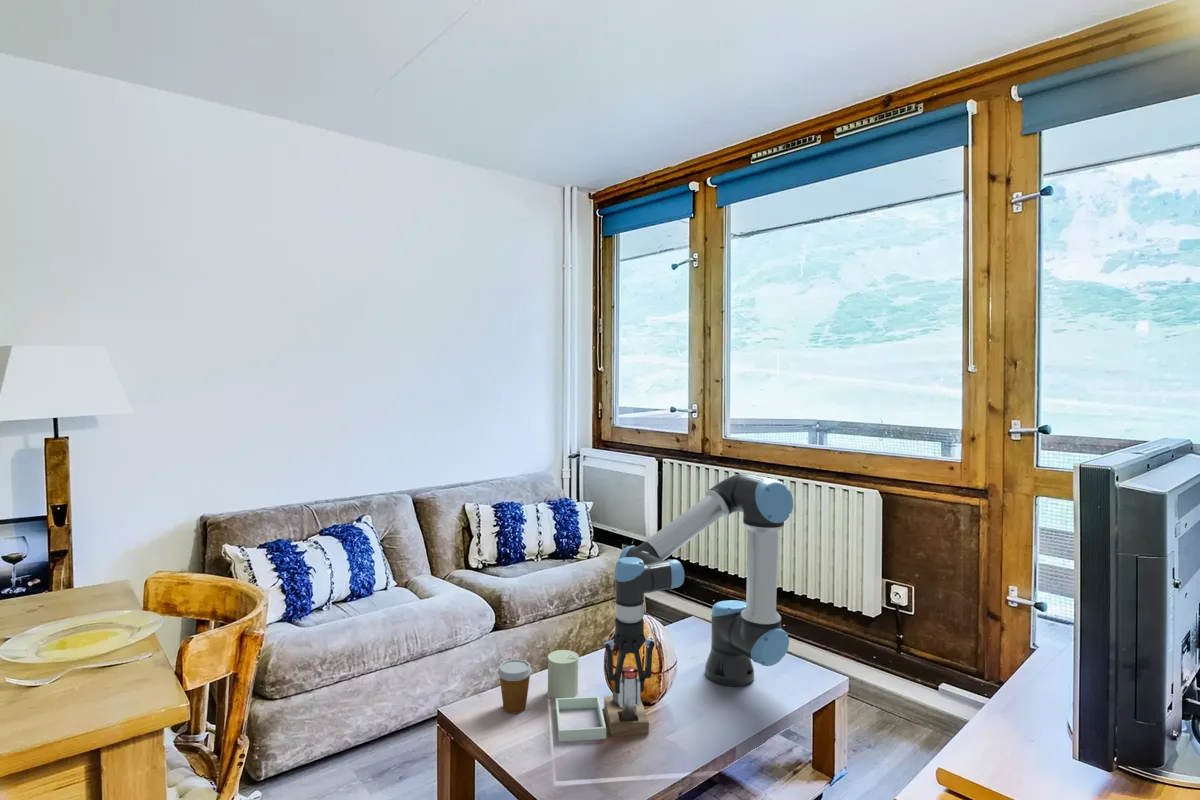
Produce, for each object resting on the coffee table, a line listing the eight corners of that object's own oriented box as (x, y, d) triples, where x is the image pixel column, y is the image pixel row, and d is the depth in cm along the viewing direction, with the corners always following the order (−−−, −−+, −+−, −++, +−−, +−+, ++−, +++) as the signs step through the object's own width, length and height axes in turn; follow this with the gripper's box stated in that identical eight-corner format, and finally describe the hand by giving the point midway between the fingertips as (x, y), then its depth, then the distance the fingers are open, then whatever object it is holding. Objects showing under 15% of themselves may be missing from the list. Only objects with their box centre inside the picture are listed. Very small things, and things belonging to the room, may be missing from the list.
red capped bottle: (635, 713, 174) (635, 666, 173) (637, 721, 170) (638, 673, 169) (620, 714, 173) (620, 666, 173) (622, 722, 169) (623, 674, 169)
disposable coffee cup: (529, 716, 178) (530, 674, 177) (495, 716, 178) (495, 674, 177) (533, 699, 187) (533, 658, 187) (500, 698, 187) (500, 658, 187)
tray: (555, 710, 181) (555, 698, 181) (598, 708, 183) (598, 696, 182) (558, 744, 165) (558, 730, 165) (606, 741, 167) (606, 728, 166)
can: (574, 704, 185) (574, 663, 184) (543, 700, 187) (543, 660, 186) (581, 688, 194) (582, 649, 193) (552, 685, 196) (552, 646, 195)
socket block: (648, 736, 169) (649, 710, 169) (610, 738, 168) (611, 712, 167) (639, 708, 183) (639, 684, 183) (604, 710, 182) (604, 686, 181)
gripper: (658, 610, 175) (657, 694, 176) (595, 613, 173) (595, 698, 174) (664, 621, 167) (663, 709, 169) (599, 624, 165) (599, 713, 167)
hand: (629, 703), depth 171 cm, fingers closed on red capped bottle, 4 cm apart
